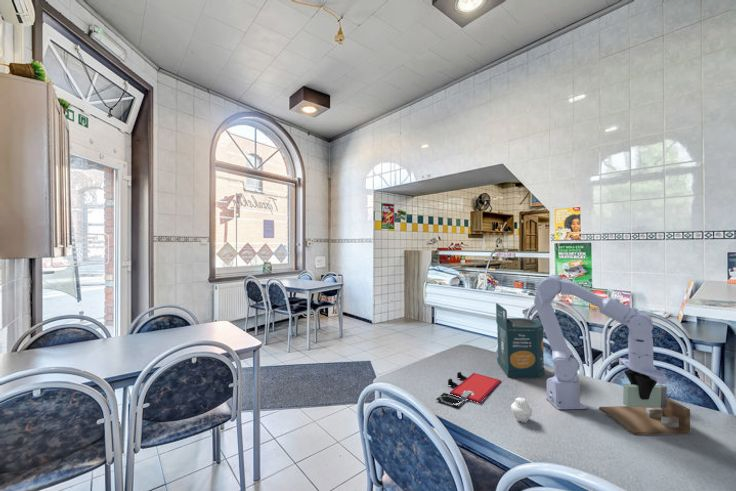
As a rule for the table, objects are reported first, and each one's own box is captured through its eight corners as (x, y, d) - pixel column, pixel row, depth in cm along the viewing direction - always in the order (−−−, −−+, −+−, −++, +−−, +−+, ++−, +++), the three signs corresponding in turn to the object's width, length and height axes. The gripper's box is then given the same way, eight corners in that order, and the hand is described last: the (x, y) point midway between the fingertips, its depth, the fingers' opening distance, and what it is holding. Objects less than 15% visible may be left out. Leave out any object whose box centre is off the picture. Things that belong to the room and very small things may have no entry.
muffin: (524, 427, 96) (523, 404, 96) (506, 417, 101) (506, 396, 101) (537, 421, 99) (536, 399, 99) (519, 412, 104) (519, 391, 104)
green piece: (627, 407, 95) (628, 387, 95) (622, 403, 97) (623, 384, 97) (668, 407, 95) (668, 388, 95) (662, 404, 97) (662, 385, 97)
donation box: (497, 362, 147) (495, 302, 147) (534, 363, 145) (532, 302, 145) (507, 377, 131) (506, 310, 131) (549, 378, 129) (547, 310, 129)
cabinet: (634, 434, 91) (633, 410, 91) (599, 409, 105) (598, 388, 105) (690, 433, 91) (689, 409, 91) (647, 408, 105) (647, 387, 105)
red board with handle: (430, 400, 114) (471, 414, 105) (430, 392, 114) (471, 406, 105) (465, 373, 137) (500, 383, 127) (465, 367, 137) (500, 376, 127)
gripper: (677, 361, 88) (678, 409, 88) (633, 344, 103) (634, 386, 103) (651, 361, 88) (652, 410, 89) (612, 345, 103) (613, 386, 103)
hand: (641, 397), depth 96 cm, fingers closed on green piece, 2 cm apart
